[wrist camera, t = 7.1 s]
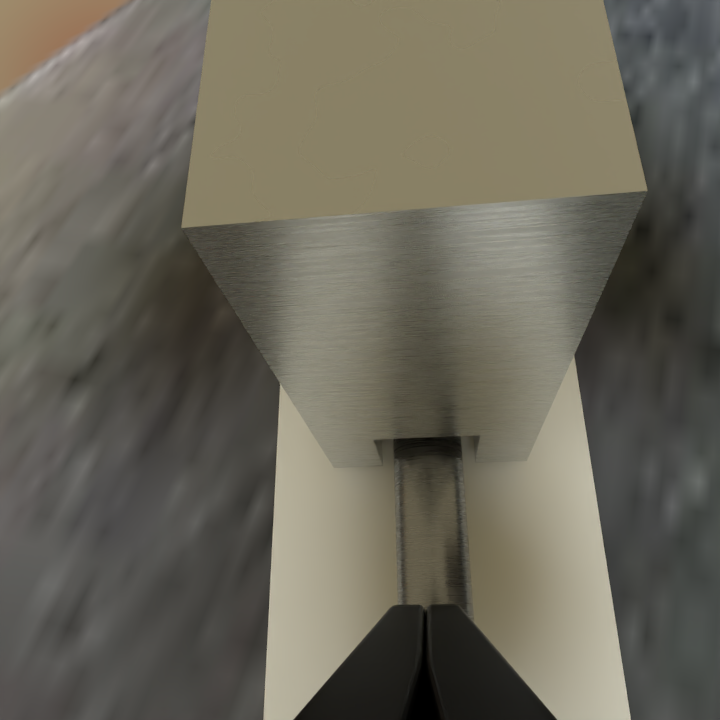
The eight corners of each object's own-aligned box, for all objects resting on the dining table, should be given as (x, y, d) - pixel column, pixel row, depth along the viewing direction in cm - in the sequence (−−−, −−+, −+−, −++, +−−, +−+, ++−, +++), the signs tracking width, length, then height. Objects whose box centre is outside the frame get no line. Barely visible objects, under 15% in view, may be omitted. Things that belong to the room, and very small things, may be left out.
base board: (706, 1252, 12) (795, 1461, 9) (246, 1208, 13) (185, 1382, 10) (541, 171, 23) (556, 97, 20) (293, 191, 24) (271, 124, 21)
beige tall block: (526, 461, 18) (647, 191, 7) (333, 467, 18) (180, 228, 8) (508, 302, 20) (581, -90, 9) (335, 313, 20) (217, -44, 10)
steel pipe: (516, 1171, 12) (529, 1264, 10) (411, 1162, 12) (405, 1252, 10) (445, 191, 21) (445, 149, 20) (385, 196, 22) (380, 155, 20)
